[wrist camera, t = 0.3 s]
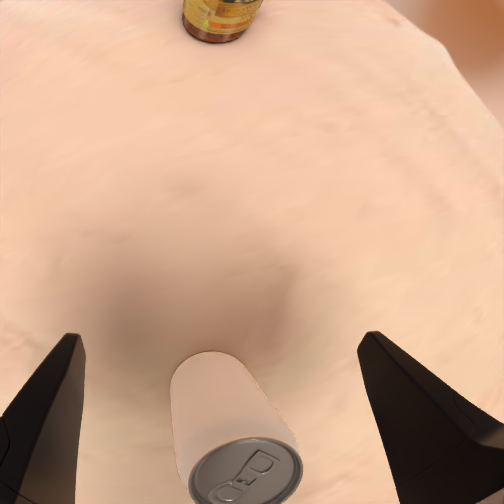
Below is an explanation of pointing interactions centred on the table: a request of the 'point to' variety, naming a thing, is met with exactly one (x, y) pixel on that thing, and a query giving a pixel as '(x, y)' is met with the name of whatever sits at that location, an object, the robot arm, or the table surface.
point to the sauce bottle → (219, 18)
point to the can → (230, 435)
